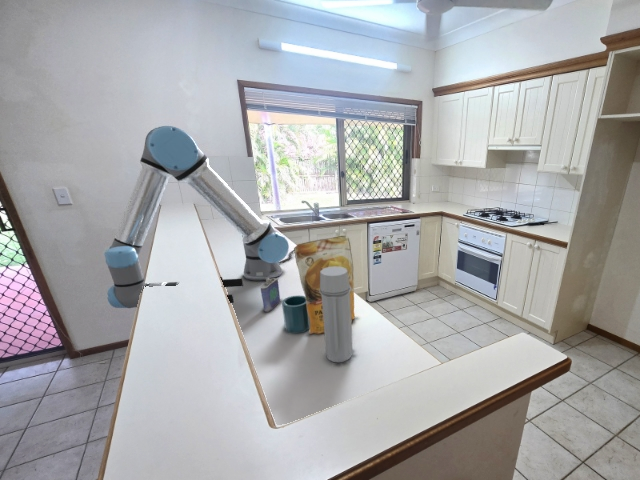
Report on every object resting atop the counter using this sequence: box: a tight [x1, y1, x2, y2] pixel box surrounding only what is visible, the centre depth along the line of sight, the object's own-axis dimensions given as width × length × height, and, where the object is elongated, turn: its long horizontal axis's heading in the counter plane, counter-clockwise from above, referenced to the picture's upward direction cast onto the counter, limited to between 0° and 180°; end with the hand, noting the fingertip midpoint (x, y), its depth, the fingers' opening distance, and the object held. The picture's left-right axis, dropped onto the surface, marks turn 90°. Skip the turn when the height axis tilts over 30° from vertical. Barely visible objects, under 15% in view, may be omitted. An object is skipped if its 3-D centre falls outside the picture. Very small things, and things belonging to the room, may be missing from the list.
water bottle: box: [319, 266, 354, 363], centre depth 84 cm, size 9×8×25 cm
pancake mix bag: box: [293, 235, 356, 335], centre depth 100 cm, size 7×19×28 cm, turn 129°
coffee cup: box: [281, 295, 310, 334], centre depth 102 cm, size 8×8×9 cm
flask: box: [260, 277, 281, 313], centre depth 114 cm, size 9×3×11 cm, turn 172°
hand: (237, 290), depth 111 cm, fingers open, 13 cm apart
